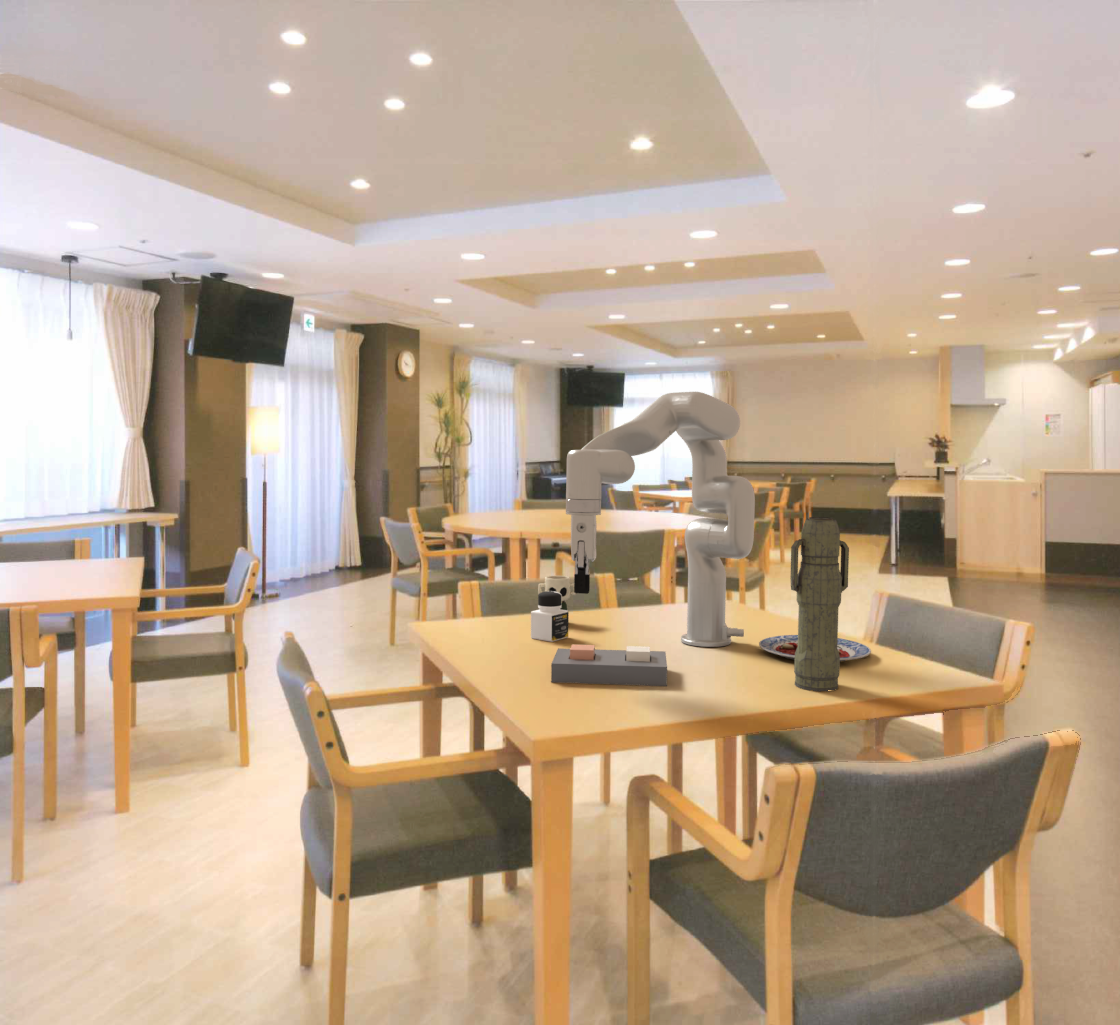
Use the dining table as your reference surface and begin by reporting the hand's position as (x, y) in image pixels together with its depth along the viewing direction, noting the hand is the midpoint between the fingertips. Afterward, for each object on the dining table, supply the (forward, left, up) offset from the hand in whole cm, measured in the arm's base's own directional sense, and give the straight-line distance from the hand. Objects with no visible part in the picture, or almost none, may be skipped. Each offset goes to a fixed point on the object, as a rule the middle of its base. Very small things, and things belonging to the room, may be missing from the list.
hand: (581, 592), depth 185 cm
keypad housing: (-6, 0, -18) cm, 19 cm away
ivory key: (-12, 0, -15) cm, 19 cm away
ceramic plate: (-54, -26, -18) cm, 63 cm away
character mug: (+11, -56, -18) cm, 60 cm away
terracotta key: (0, 0, -15) cm, 15 cm away
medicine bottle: (+11, -36, -18) cm, 42 cm away
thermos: (-49, +3, -18) cm, 53 cm away
